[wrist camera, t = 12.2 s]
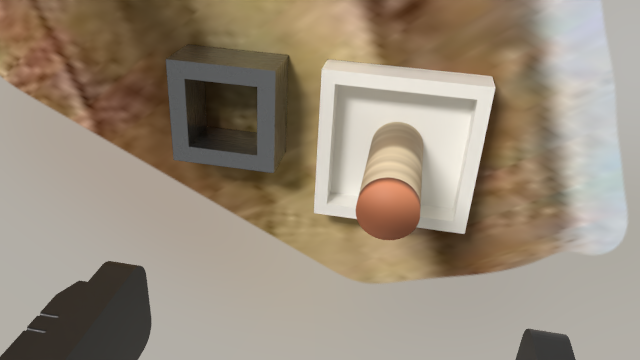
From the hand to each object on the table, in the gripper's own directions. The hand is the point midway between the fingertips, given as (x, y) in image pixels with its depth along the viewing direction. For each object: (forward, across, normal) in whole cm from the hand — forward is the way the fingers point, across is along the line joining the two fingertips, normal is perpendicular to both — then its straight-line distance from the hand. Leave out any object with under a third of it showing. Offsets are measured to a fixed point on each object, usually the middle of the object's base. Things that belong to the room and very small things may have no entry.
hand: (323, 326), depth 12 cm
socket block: (+32, +12, +8) cm, 35 cm away
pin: (+32, -1, +10) cm, 33 cm away
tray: (+32, -1, +10) cm, 34 cm away
